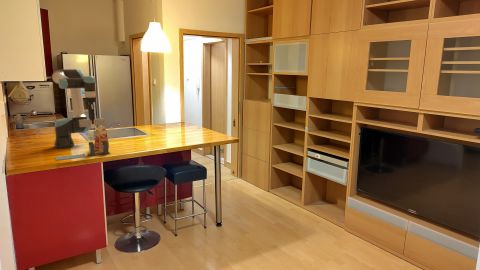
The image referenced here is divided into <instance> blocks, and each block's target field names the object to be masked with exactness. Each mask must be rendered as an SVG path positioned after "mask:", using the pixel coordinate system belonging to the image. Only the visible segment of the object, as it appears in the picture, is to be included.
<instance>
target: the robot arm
mask: <svg viewBox="0 0 480 270" xmlns="http://www.w3.org/2000/svg"><path fill="white" fill-rule="evenodd" d="M51 79H52V81H53V82H54V83H55V84H58V87H59V88H60V89H63V90H65V89H67V90H68V89H70V97H71V106H72V113H73V116H72V117H71V119H70V117H69V118H68V117H66V118H59V119H57V120H55V121H54V133H55V140H54V144H53V146H54V148H55V149H68V148H73V147H74V146H75V142H74V139H73V138H72V134H82V133H88V132H89V130H90V128H91V129H96V126H95V120H94V119H96V116H95V113H96V112H95V104H94V103H97V97H96V96H97V95H96V83H95V82H96V80H95V76H93V75H92V76H91V75H84V72H83V71H82V70H81V69H75V68H73V69H72V68H71V69H64V68H63V69H57V70H55V71H54V72H53V73H52V74H51ZM82 89H83V90H84V92H83V90H82ZM83 94H84V100H83ZM84 102H85V103H88V104H87V109H88V110H87V111H88V116H87V115H86V114H85V108H84ZM84 119H90V121H91V126H88V127H79V120H84Z"/></svg>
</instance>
